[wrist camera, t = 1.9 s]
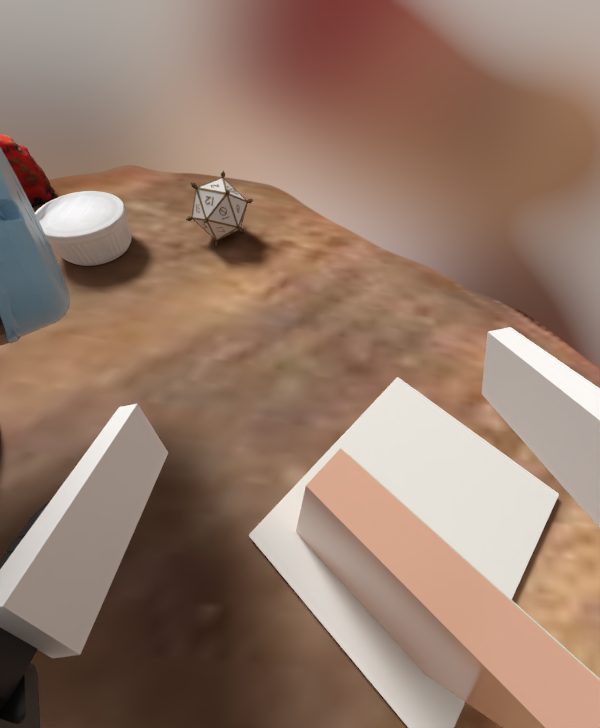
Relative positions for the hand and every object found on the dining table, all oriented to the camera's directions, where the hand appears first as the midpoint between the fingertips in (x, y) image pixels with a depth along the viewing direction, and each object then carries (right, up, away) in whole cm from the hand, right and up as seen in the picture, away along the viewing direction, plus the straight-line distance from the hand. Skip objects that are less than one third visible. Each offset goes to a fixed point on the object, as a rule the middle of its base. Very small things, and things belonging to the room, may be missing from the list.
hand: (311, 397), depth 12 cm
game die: (-12, +21, +36) cm, 43 cm away
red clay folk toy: (-45, +29, +40) cm, 66 cm away
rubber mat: (+9, -12, +15) cm, 21 cm away
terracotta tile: (+4, -15, +11) cm, 19 cm away
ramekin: (-30, +18, +34) cm, 48 cm away
